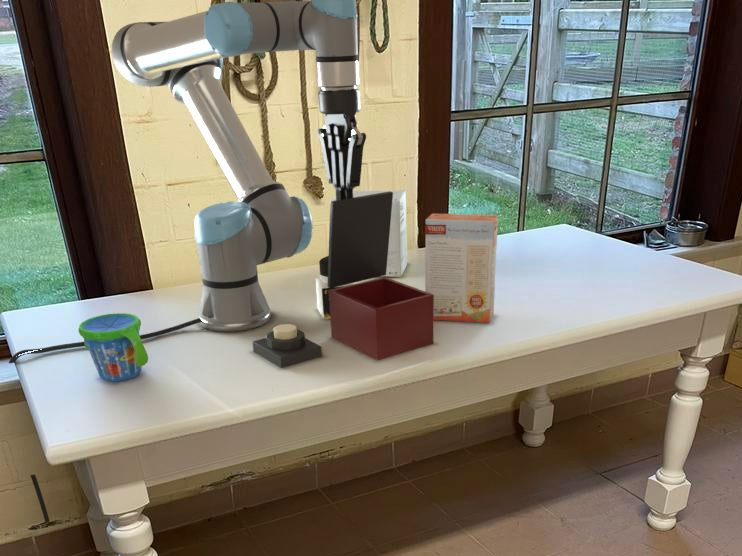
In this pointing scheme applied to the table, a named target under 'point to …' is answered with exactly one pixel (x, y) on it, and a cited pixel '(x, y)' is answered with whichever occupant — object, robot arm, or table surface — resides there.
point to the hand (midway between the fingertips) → (345, 224)
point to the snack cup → (114, 345)
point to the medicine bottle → (324, 289)
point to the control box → (287, 349)
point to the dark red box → (382, 317)
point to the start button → (285, 331)
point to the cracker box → (461, 266)
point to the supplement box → (394, 232)
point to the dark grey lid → (359, 238)
